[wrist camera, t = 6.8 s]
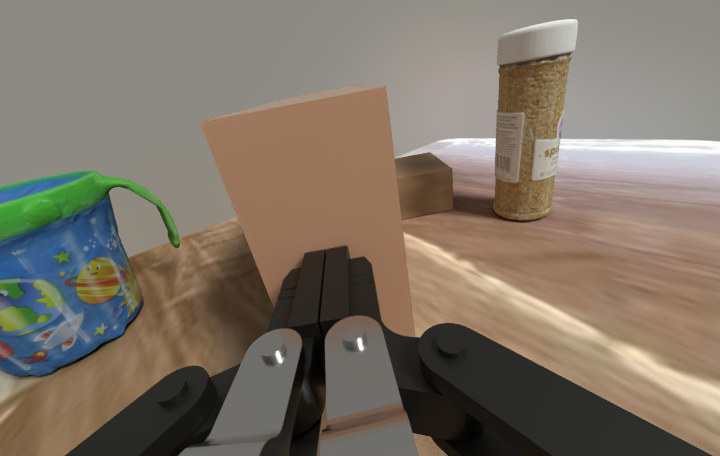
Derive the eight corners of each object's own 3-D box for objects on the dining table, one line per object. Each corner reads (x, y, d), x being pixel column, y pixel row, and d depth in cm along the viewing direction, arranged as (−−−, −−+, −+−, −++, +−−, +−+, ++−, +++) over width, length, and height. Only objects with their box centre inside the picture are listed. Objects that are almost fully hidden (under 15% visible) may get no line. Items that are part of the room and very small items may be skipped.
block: (308, 393, 13) (199, 122, 8) (323, 233, 28) (288, 97, 22) (419, 374, 13) (385, 86, 8) (377, 224, 28) (355, 85, 22)
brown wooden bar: (267, 244, 28) (253, 205, 26) (280, 214, 34) (269, 182, 32) (453, 209, 27) (452, 168, 26) (431, 186, 34) (429, 152, 32)
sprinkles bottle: (560, 221, 23) (593, 11, 17) (495, 223, 24) (504, 30, 18) (542, 198, 26) (564, 21, 20) (488, 201, 28) (493, 36, 22)
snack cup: (194, 257, 28) (141, 152, 23) (216, 311, 20) (141, 167, 15) (-37, 351, 21) (-179, 226, 16) (-150, 497, 13) (-496, 330, 8)
